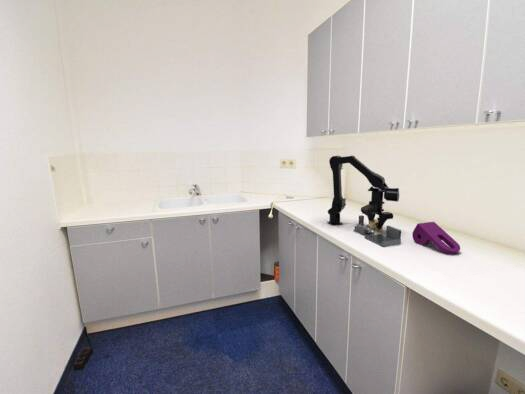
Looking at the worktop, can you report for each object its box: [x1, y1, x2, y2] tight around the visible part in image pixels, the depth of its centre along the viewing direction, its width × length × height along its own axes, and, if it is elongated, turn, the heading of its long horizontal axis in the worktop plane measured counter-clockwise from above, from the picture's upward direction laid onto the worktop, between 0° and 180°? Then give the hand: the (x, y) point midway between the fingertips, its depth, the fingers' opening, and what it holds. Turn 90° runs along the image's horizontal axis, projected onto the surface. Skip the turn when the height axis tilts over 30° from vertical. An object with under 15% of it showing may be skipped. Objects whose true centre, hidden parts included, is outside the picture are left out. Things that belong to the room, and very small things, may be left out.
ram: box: [355, 215, 376, 234], centre depth 139 cm, size 12×3×7 cm, turn 18°
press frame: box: [352, 225, 402, 248], centre depth 134 cm, size 24×12×6 cm, turn 18°
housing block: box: [367, 218, 384, 232], centre depth 145 cm, size 5×5×5 cm
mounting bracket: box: [411, 221, 461, 255], centre depth 120 cm, size 9×8×18 cm
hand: (375, 227), depth 146 cm, fingers open, 6 cm apart
